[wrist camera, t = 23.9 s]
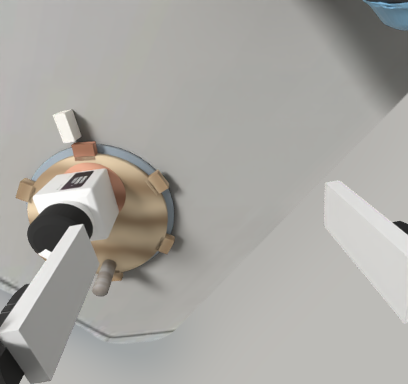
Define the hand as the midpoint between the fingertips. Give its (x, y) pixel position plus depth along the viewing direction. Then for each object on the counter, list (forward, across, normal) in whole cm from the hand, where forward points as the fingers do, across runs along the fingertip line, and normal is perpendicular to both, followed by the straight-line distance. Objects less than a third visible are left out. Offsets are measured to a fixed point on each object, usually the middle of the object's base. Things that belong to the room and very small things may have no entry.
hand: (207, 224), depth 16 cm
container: (+28, -18, -8) cm, 34 cm away
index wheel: (+29, -18, -13) cm, 37 cm away
